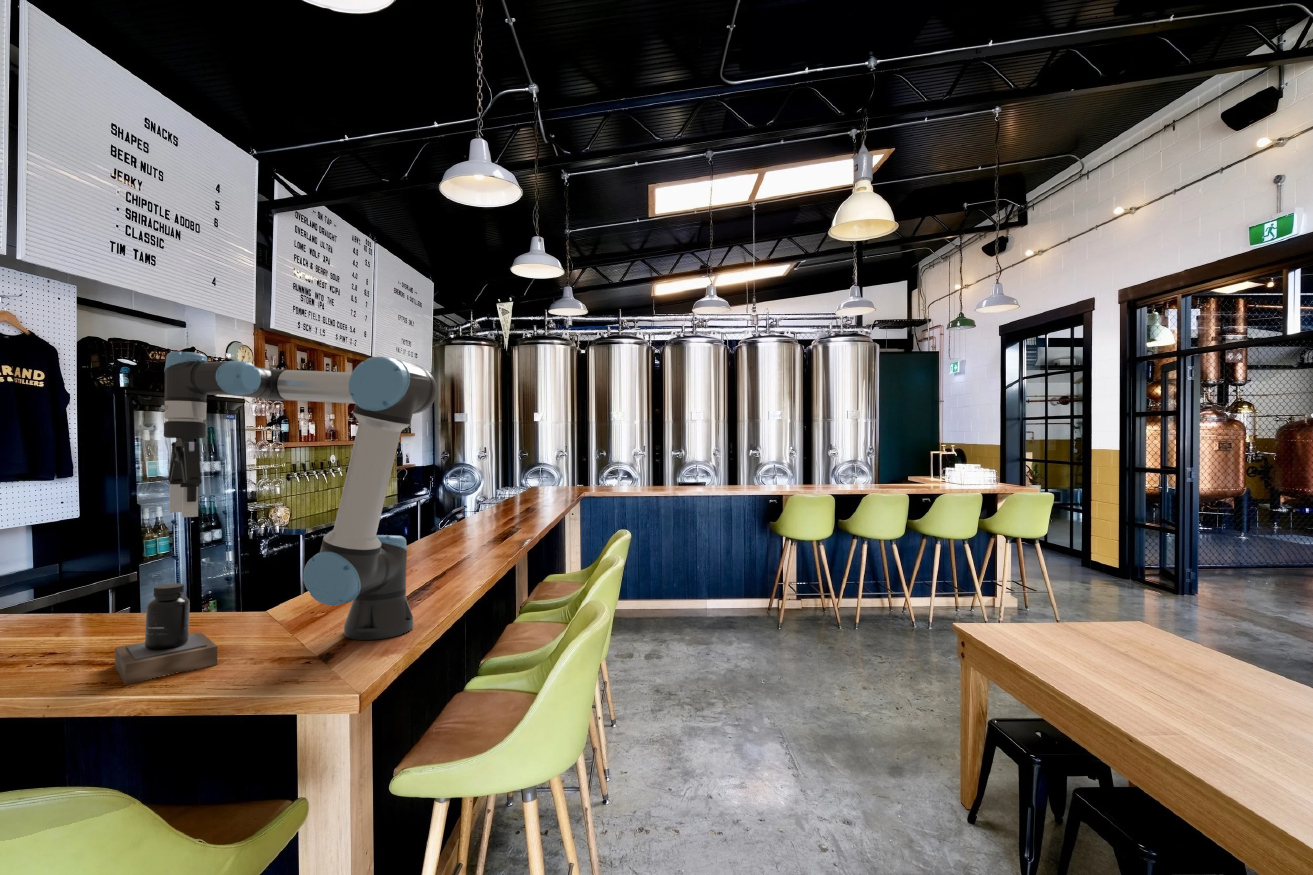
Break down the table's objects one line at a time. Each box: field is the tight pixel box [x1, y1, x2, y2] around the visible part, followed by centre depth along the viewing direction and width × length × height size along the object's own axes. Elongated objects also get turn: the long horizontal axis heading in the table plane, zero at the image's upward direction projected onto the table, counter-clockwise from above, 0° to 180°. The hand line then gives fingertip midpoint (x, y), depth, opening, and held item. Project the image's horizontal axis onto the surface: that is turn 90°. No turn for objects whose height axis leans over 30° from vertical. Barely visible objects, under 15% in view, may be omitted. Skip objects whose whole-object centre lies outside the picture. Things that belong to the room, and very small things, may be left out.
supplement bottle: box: [144, 582, 191, 650], centre depth 121 cm, size 7×7×12 cm
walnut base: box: [114, 631, 218, 686], centre depth 121 cm, size 14×14×4 cm
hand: (183, 514), depth 136 cm, fingers open, 13 cm apart
